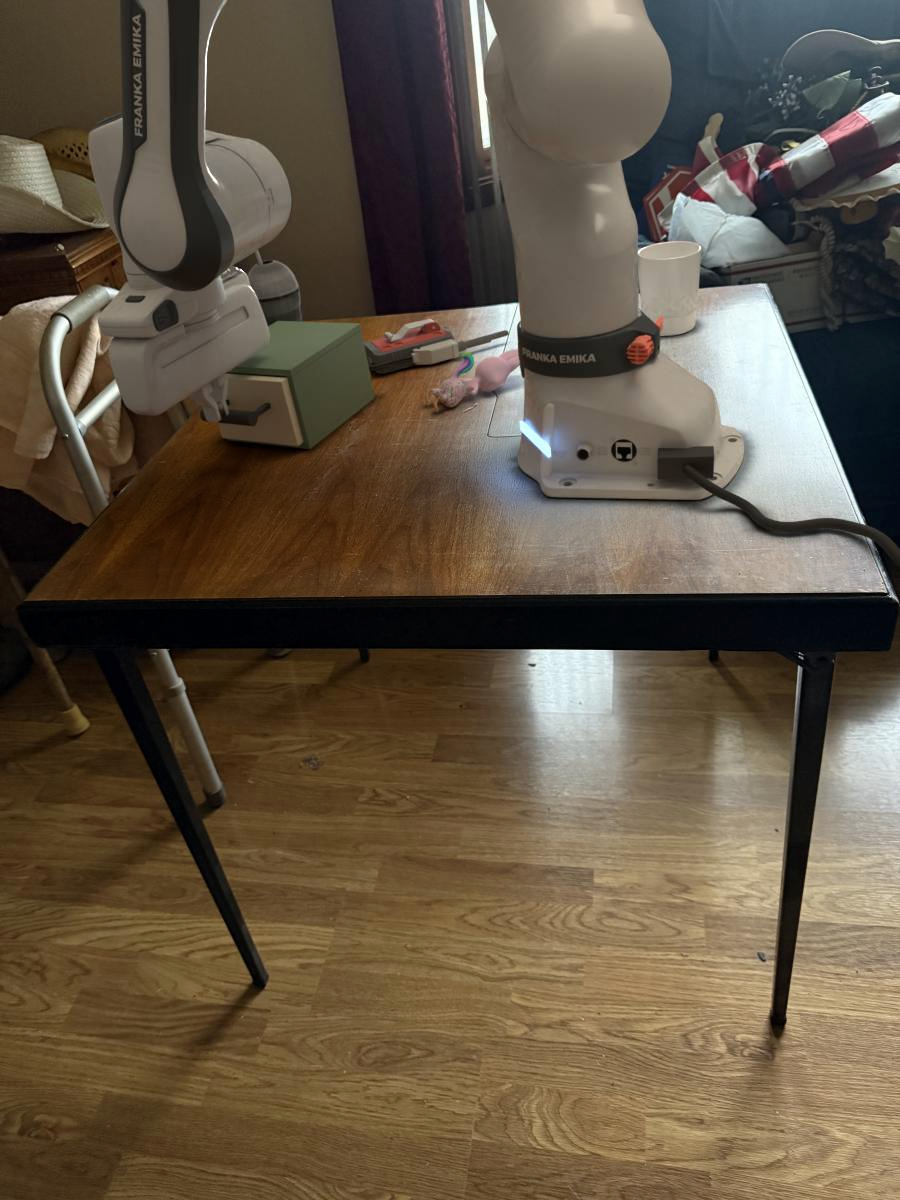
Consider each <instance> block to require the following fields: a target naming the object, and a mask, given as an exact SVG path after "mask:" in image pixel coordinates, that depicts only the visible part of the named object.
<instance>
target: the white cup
mask: <svg viewBox="0 0 900 1200" xmlns="http://www.w3.org/2000/svg"><path fill="white" fill-rule="evenodd" d="M702 248H703V247H702V245H700V244H699V243H696V242H694V241H687V240H686V241H685V240H675V241H661V242H658V243H653V244H650V245H647V246H644V247H643V248H642V247H641V249H638V278H639V296H640V297H639V299H640V309H641V310H642V312H643V313H644V314H645V315H646V316H647V317H648V318H650V319H651V320H652V321H653V322H654V323H655V322H656V321H657V320H658V319H659V318H660V316H663V324H662V325H663V330H662V331H661V332H660V337H667V336H677V335H681V334H685V333H688V332H690V331H691V330H693V329H694V328H695V326H696V321H697V320H696V319H697V306H698V301H699V289H700V278H701V277H700V276H701V262H702Z"/></svg>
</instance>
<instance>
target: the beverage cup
mask: <svg viewBox="0 0 900 1200" xmlns="http://www.w3.org/2000/svg"><path fill="white" fill-rule="evenodd" d="M254 255H255V257H256V261H257V263H255V264H253V266H252V267H251V268H250V269H249V271H248V272H247V273H246V274H247V276H248V279H249V282H250V286H251V288H252V289H253V291H254V292H255V294H256V296H257V298H258V301H259V303H260V306H261V308H262V311H263V314H264V317H265V319H266V322H267V326H270V325H272V324H273V323H275V322H277V321H297V322H303V316H302V309H301V304H302V303H301V292H300V290H301V287H300V285H299V283H298V280H297V278H296V276H295V274H294V273H293V271H292V270H291V269H290V268H289V267H288V266H287V265H286V264H284V263H283V262H280V261H278V260H275V259H264V260H262V257H261V255H260V252H259V249H257V250H256V251H255V252H254Z"/></svg>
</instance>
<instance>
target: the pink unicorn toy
mask: <svg viewBox="0 0 900 1200" xmlns="http://www.w3.org/2000/svg"><path fill="white" fill-rule="evenodd" d="M459 358H461V359H463V360H462V362H461V363H460V364H459V365H458V366H457V367H456V370H455V371H454V374H453V375H452V377H450V378H448V379H446V380H444V381H443V382H442V383H441V384H440V386H439V387H438V388H430V389H429V391H428V393H427V394H426V393H425V392H423V395H424V399H425V401H424V402H425V404H427V407H429V406H430V400H429V399H430V396H431V395H433V396H434V397H435V398H436V399H434V398H431V400H432V401H433V402H432V404H433V410H434V409H435V410H436V413H438V412H439V407H438V403H442V404H443V405H444V406H445V407H446V408H455V407H456V406H457V405H458V404H459V403H460V401H462V400H463V398H464V397H465V396H470V395H471V396H476V394H477V393H478V391H479V387H480V390H481V391H486V392H487V393H492V392H493V391H495V390H497V389H499V388H500V387H501V386H502V385H503V384H505V383H506V382H507V380H508V378H509V376H510V374H511V373H512V372H514V371H515V370H516V369H517V368H519V367H520V362H519V356H518V348H511V349H509V350H506V351H504V352H503V353H501V354H500V355H498V356H496V355H492V356H487V357H485V358H483V359H481V361H479V362H478V364H477V365H476V367H475V370H474V377H473V378H465V377H460V376H461V375H463V374H466V373H468V372H469V371H471V370H472V369H473V367H474V364H475V358H474V355H473V354H472V353H471V352H464V353H462V354H461V355H459Z"/></svg>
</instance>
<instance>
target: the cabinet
mask: <svg viewBox="0 0 900 1200" xmlns="http://www.w3.org/2000/svg"><path fill="white" fill-rule="evenodd" d="M268 329H269V332H270V339H269V345H268V347H267V348H265V349H263V350H262V351H260V352H259V353H257V354H255V355H254V356H252V357H251V358H249V359H247V360H246V361H244V362H243V363H241V364H239V365H238V366H236V367H235V368H233V369H231V370H230V371H228V372H230V373H245V374H260V375H275V376H287V378H288V382H289V386H290V390H291V394H292V398H293V402H294V406H295V410H296V413H297V417H298V421H299V425H300V429H301V433H302V437H303V441H304V442H303V443H302V444H300V445H299V446H290V445H281V444H272V443H263V442H254V441H245V440H236V439H227V438H225V439H226V441H232V442H241V443H250V444H260V445H267V446H268V445H269V446H276V447H285V448H293V449H294V448H295V449H304V450H311V449H313V448H314V447H315V446H316V445H317V444H319V443H320V442H322V441H323V440H324V439H325V438H326V437H328V436H329V435H330V434H331V433H333V432H334V431H335V430H337V429H338V428H339V427H340V426H341V425H343V424H344V423H345V422H346V421H348V420H349V419H351V417H353V416H354V415H355V414H356V413H358V412H360V410H362V409H363V408H365V406H367V405H368V404H369V403H370V402H372V401H373V400H374V399H375V398H376V397H375V392H374V386H373V382H372V381H373V380H372V377H371V371H370V370H369V366H368V361H367V356H366V351H365V346H364V343H365V341H364V337H363V331H362V325H361V323H357V322H330V321H329V322H326V321H302V322H297V321H277V322H275V323H273V324H272V325H270V326H268Z"/></svg>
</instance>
